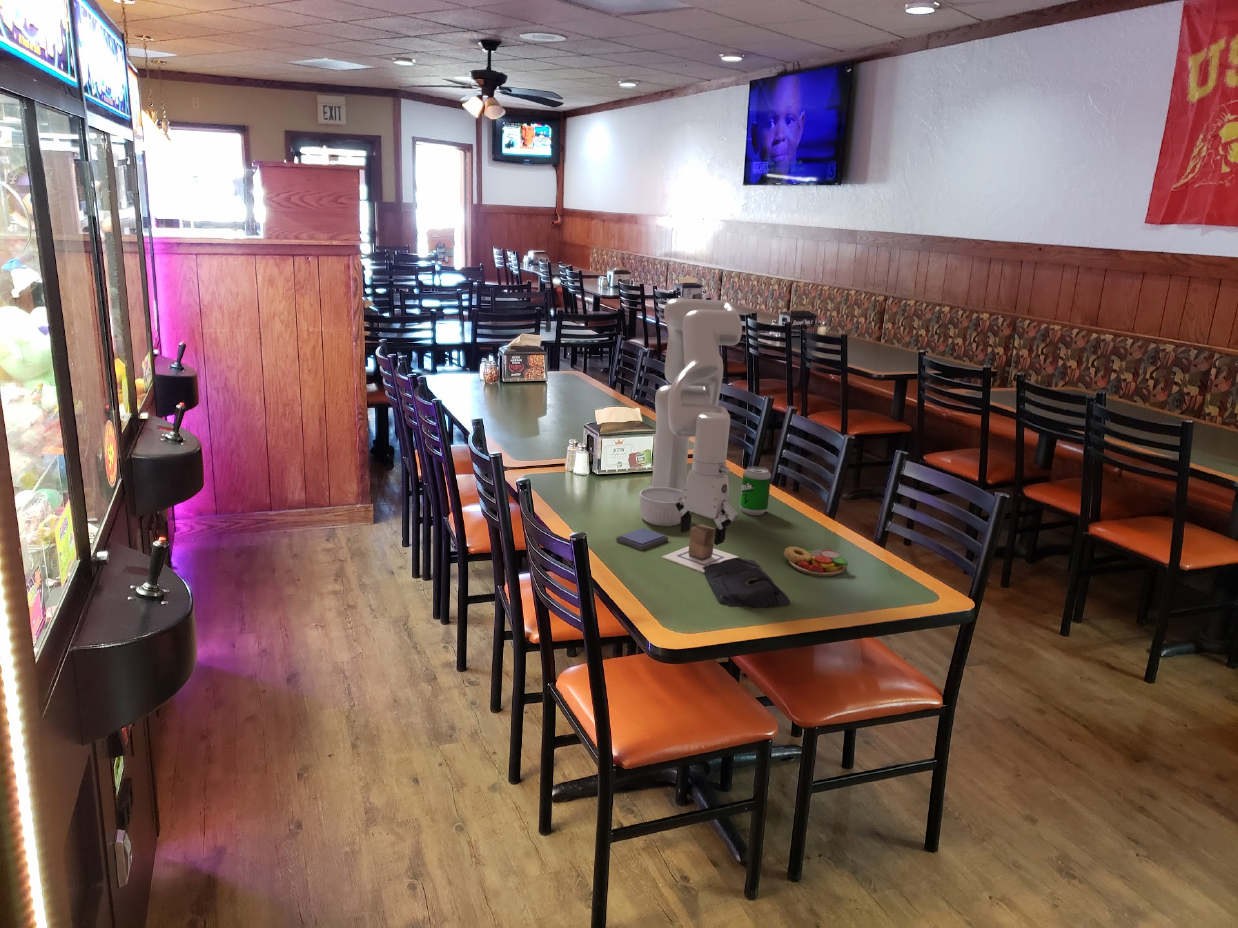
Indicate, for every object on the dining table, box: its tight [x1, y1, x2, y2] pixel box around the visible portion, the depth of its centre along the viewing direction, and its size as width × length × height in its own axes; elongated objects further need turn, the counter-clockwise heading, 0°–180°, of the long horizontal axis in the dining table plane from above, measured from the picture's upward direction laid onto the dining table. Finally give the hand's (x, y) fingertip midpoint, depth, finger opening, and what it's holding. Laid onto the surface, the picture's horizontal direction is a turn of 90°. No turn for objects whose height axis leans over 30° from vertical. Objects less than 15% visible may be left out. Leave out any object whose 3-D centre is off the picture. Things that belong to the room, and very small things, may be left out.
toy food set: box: [783, 546, 849, 577], centre depth 206 cm, size 13×13×3 cm
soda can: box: [739, 466, 772, 516], centre depth 242 cm, size 8×8×12 cm
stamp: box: [688, 523, 716, 561], centre depth 206 cm, size 4×4×7 cm
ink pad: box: [615, 527, 669, 551], centre depth 215 cm, size 10×8×1 cm
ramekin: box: [638, 487, 684, 527], centre depth 231 cm, size 13×13×7 cm
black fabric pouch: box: [702, 557, 791, 609], centre depth 191 cm, size 15×22×5 cm
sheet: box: [661, 545, 740, 574], centre depth 207 cm, size 14×12×1 cm
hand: (701, 537), depth 206 cm, fingers open, 9 cm apart
